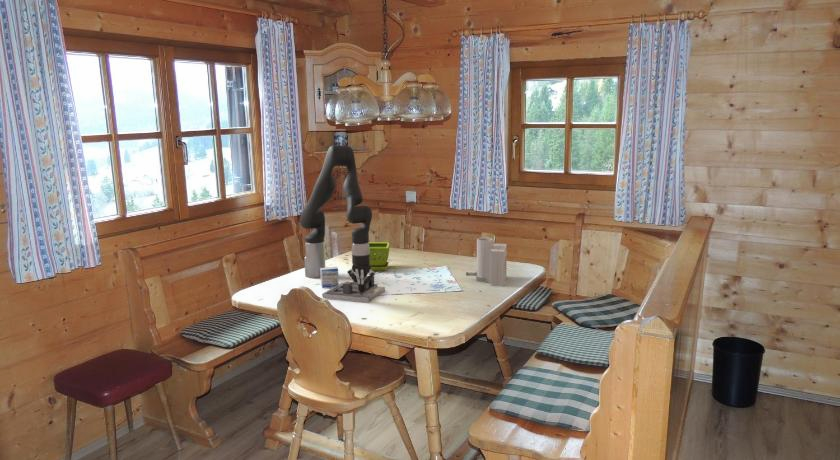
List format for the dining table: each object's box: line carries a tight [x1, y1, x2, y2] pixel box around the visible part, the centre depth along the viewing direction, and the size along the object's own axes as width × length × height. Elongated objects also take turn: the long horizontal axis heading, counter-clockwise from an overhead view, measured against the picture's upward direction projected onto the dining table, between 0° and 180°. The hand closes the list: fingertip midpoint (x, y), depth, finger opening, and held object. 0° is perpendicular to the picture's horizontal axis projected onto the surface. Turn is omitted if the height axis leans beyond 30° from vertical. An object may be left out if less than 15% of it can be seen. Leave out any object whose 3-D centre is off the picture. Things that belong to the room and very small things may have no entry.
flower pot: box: [369, 241, 391, 272], centre depth 318 cm, size 14×14×13 cm
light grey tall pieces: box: [465, 237, 508, 287], centre depth 293 cm, size 16×19×20 cm
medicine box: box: [320, 266, 340, 289], centre depth 289 cm, size 8×4×9 cm, turn 105°
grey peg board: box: [321, 275, 386, 304], centre depth 275 cm, size 22×18×7 cm
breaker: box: [342, 281, 353, 294], centre depth 270 cm, size 3×3×5 cm
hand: (362, 292), depth 268 cm, fingers closed
